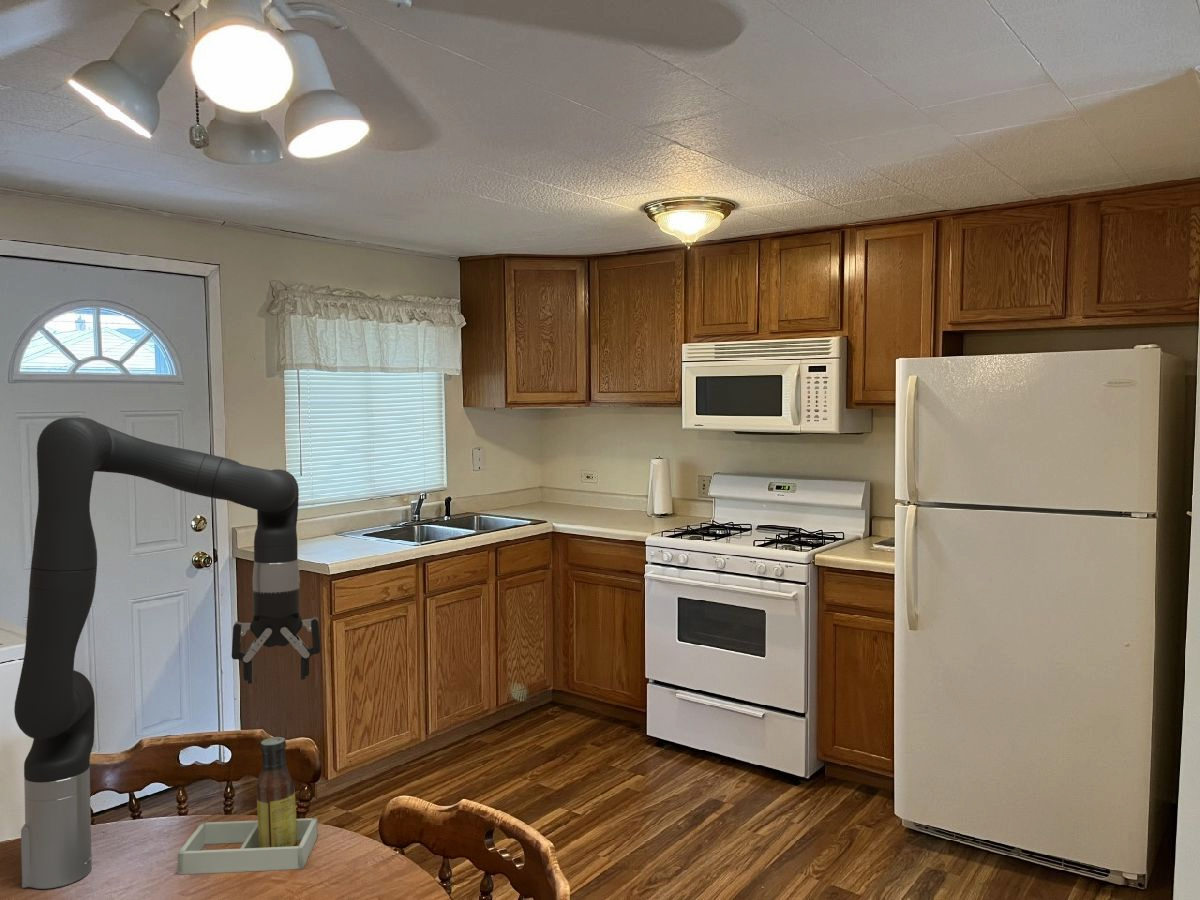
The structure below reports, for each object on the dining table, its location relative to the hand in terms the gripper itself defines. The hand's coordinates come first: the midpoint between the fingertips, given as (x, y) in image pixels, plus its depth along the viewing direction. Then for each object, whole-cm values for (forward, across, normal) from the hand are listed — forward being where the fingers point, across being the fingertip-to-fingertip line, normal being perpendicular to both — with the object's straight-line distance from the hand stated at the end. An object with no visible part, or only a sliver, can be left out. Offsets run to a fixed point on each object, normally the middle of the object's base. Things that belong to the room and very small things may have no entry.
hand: (277, 680), depth 155 cm
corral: (+30, -5, +1) cm, 30 cm away
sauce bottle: (+30, 0, 0) cm, 30 cm away
